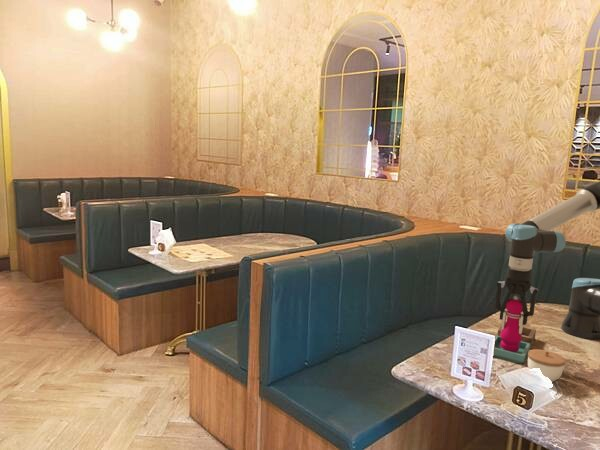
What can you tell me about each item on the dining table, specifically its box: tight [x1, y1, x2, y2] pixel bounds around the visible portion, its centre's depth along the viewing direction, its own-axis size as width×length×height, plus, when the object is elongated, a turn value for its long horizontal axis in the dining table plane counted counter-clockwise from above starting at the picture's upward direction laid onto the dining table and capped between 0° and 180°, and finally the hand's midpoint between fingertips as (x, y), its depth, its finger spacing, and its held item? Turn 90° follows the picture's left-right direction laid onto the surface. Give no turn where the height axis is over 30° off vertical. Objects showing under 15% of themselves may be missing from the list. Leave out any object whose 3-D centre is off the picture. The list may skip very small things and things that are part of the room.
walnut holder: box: [497, 323, 537, 350], centre depth 184 cm, size 12×12×4 cm
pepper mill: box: [500, 294, 523, 351], centre depth 170 cm, size 7×7×20 cm
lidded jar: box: [527, 348, 566, 383], centre depth 152 cm, size 11×11×9 cm
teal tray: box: [493, 334, 531, 365], centre depth 171 cm, size 12×14×3 cm
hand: (511, 330), depth 170 cm, fingers closed on pepper mill, 5 cm apart
